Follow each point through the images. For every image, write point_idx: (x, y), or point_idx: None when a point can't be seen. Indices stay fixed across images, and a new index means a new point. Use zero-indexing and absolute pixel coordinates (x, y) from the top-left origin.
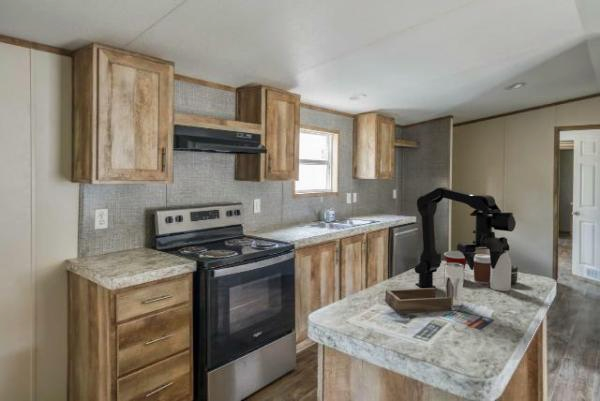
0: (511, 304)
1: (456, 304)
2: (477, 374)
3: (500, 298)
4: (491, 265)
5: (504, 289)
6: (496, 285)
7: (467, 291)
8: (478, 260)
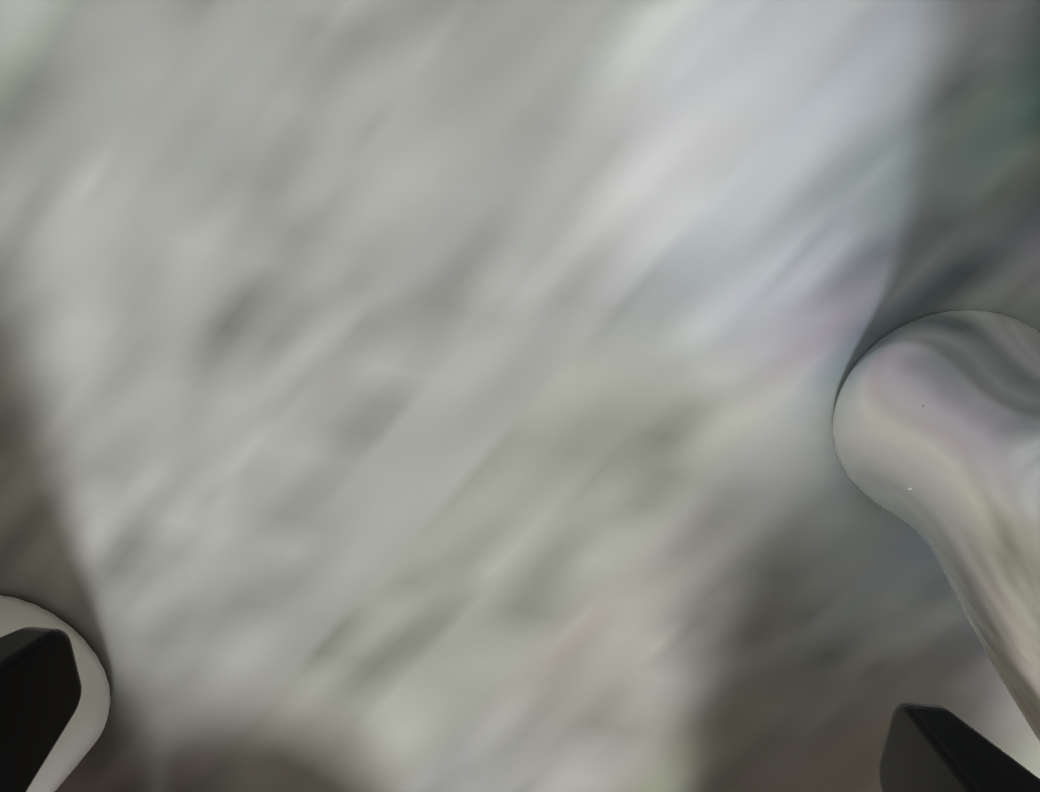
0: (207, 198)
1: (1010, 319)
2: None
3: (207, 421)
4: (19, 782)
5: (4, 608)
6: None
7: (435, 705)
8: None
